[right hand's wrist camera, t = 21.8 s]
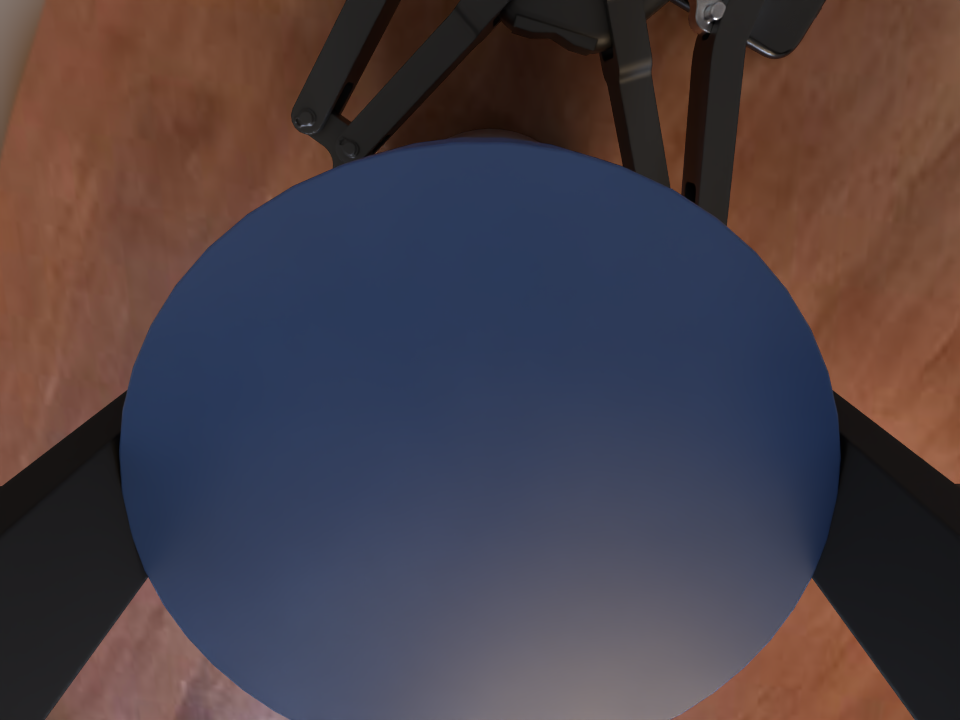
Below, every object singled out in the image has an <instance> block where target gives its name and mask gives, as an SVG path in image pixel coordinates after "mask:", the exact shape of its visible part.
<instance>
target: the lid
mask: <svg viewBox="0 0 960 720" xmlns="http://www.w3.org/2000/svg"><path fill="white" fill-rule="evenodd" d="M119 460H120V475H121V489H122V495H123V499H124V503H125V508H126V512H127V517H128V521H129V525H130V530H131V534H132V538H133V541H134V543H135V546H136V549H137V551H138V554H139V557H140V559H141V562H142V564H143V567H144V570H145V572H146V574H147V575H148V577H149V579H150V581H151V583H152V585H153V586H154V588H155V590H156V592H157V594H158V596H159V597H160V599H161V601H162V603H163V605H164V606H165V607H166V609H167V610H168V612H169V613H170V614H171V616H172V617H173V618H174V620H175V621H176V623H177V624H178V625H179V627H180V628H181V629H182V631H183V632H184V634H185V635H186V636H187V637H188V638H189V640H190V641H191V642H192V643H193V644H194V645H195V646H196V647H197V648H198V649H199V650H200V651H201V652H202V653H203V655H204V656H205V657H206V658H207V659H208V660H209V661H210V662H211V663H212V664H213V665H214V666H215V667H216V668H217V669H219V670H220V671H221V672H222V673H223V674H225V675H226V676H227V677H228V678H229V679H230V680H232V681H233V682H234V683H235V684H236V685H237V686H239V687H240V688H241V689H242V690H244V691H245V692H247V693H248V694H250V695H251V696H252V697H254V698H255V699H257V700H258V701H260V702H261V703H263V704H264V705H266V706H267V707H269V708H270V709H272V710H273V711H275V712H277V713H279V714H280V715H282V716H284V717H286V718H288V719H290V720H671V719H673V718H674V717H676V716H678V715H680V714H682V713H684V712H685V711H687V710H688V709H690V708H691V707H693V706H694V705H696V704H697V703H699V702H700V701H702V700H703V699H705V698H706V697H708V696H710V695H711V694H713V693H714V692H715V691H716V690H718V689H719V688H720V687H721V686H722V685H724V684H725V683H726V682H727V681H729V680H730V679H731V678H732V677H733V676H735V675H736V674H737V673H738V672H739V671H741V670H742V669H743V668H744V667H745V666H746V665H747V664H748V663H749V662H750V661H751V660H752V659H753V658H754V657H755V656H756V655H757V654H758V653H759V652H760V650H761V649H762V648H763V647H764V646H765V645H766V644H767V643H768V642H769V641H770V640H771V639H772V637H773V636H774V635H775V633H776V632H777V631H778V629H779V628H780V627H781V625H782V624H783V623H784V621H785V620H786V619H787V617H788V616H789V615H790V613H791V612H792V611H793V609H794V608H795V606H796V604H797V603H798V601H799V599H800V597H801V595H802V594H803V592H804V590H805V588H806V587H807V585H808V583H809V581H810V580H811V578H812V576H813V574H814V572H815V569H816V566H817V564H818V561H819V559H820V556H821V554H822V551H823V549H824V546H825V544H826V541H827V538H828V534H829V529H830V525H831V521H832V516H833V512H834V508H835V504H836V499H837V494H838V485H839V474H840V462H841V452H840V437H839V422H838V413H837V408H836V404H835V400H834V395H833V391H832V387H831V382H830V378H829V373H828V370H827V368H826V365H825V363H824V360H823V358H822V355H821V353H820V350H819V348H818V345H817V343H816V340H815V338H814V335H813V333H812V331H811V329H810V327H809V325H808V324H807V322H806V320H805V319H804V317H803V315H802V314H801V312H800V310H799V309H798V307H797V305H796V304H795V302H794V300H793V299H792V297H791V295H790V294H789V292H788V290H787V289H786V288H785V287H784V285H783V284H782V283H781V282H780V281H779V279H778V278H777V277H776V276H775V275H774V273H773V272H772V271H771V270H770V269H769V267H768V266H767V265H766V264H765V263H764V261H763V260H762V259H761V258H760V257H759V255H758V254H757V253H756V252H755V251H754V250H753V249H752V248H751V247H749V246H748V245H747V244H746V243H745V242H744V241H743V240H741V239H740V238H739V237H738V236H737V235H736V234H735V233H734V232H732V231H731V230H730V229H729V228H728V227H727V226H726V225H724V224H723V223H722V222H721V221H720V220H719V219H718V218H716V217H715V216H713V215H712V214H710V213H709V212H707V211H705V210H704V209H702V208H701V207H699V206H698V205H696V204H695V203H693V202H691V201H690V200H688V199H687V198H685V197H684V196H682V195H681V194H679V193H678V192H676V191H674V190H673V189H671V188H669V187H667V186H664V185H662V184H660V183H658V182H656V181H653V180H651V179H649V178H647V177H645V176H642V175H640V174H638V173H636V172H634V171H631V170H629V169H627V168H625V167H623V166H620V165H617V164H614V163H611V162H607V161H604V160H601V159H598V158H595V157H592V156H588V155H585V154H582V153H578V152H575V151H571V150H568V149H565V148H561V147H558V146H554V145H551V144H545V143H538V142H531V141H524V140H518V139H511V138H479V137H458V138H451V139H443V140H436V141H428V142H420V143H414V144H410V145H406V146H403V147H399V148H395V149H392V150H388V151H385V152H381V153H377V154H374V155H370V156H367V157H364V158H361V159H358V160H355V161H351V162H348V163H345V164H342V165H340V166H338V167H335V168H333V169H331V170H329V171H326V172H324V173H322V174H319V175H317V176H315V177H313V178H310V179H308V180H306V181H303V182H301V183H299V184H297V185H294V186H292V187H291V188H289V189H287V190H286V191H284V192H283V193H281V194H279V195H278V196H276V197H274V198H273V199H271V200H270V201H268V202H266V203H265V204H263V205H262V206H260V207H258V208H257V209H255V210H254V211H252V212H250V213H249V214H247V215H246V216H245V217H244V218H242V219H241V220H240V221H239V222H238V223H237V224H235V225H234V226H233V227H232V228H231V229H230V230H228V231H227V232H226V233H225V234H224V235H223V236H221V237H220V238H219V239H218V240H217V241H215V242H214V243H213V244H212V245H211V246H210V247H208V248H207V250H206V251H205V252H204V253H203V254H202V255H201V257H200V258H199V259H198V260H197V261H196V262H195V264H194V265H193V266H192V267H191V268H190V269H189V270H188V272H187V273H186V274H185V275H184V276H183V277H182V279H181V280H180V281H179V282H178V283H177V284H176V286H175V287H174V289H173V290H172V292H171V294H170V295H169V297H168V298H167V300H166V302H165V303H164V305H163V306H162V308H161V310H160V311H159V313H158V314H157V316H156V318H155V319H154V321H153V323H152V324H151V326H150V328H149V331H148V333H147V335H146V338H145V340H144V343H143V345H142V347H141V350H140V352H139V354H138V357H137V359H136V361H135V364H134V366H133V370H132V374H131V378H130V382H129V386H128V390H127V394H126V398H125V402H124V406H123V411H122V423H121V434H120V446H119Z"/></svg>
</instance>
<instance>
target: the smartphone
mask: <svg viewBox="0 0 960 720" xmlns="http://www.w3.org/2000/svg"><path fill="white" fill-rule="evenodd" d="M825 1H826V0H765V1H764V3H763V5H762V8H761V10H760V12H759V15H758V17H757V19H756V22H755V24H754V26H753V29H752V31H751V33H750V36H749V38H748V40H747V43H746V46H747V47H748V48H750V49H752V50H754V51H755V52H757V53H759V54H761V55H762V56H764V57H767V58H771V59H779V58H783V57H785V56H787V55H789V54H790V53H791V52H793V51H794V50H795V48H796V47H797V46H798V45H799V43H800V42H801V40H802V39H803V37H804V36H805V34H806V32H807V31H808V29H809V27H810V26H811V24H812V22H813V21H814V19H815V18H816V17H817V15H818V14H819V12H820V10H821V9H822V6H823V4H824V3H825ZM670 2H672V3H674V4H675V5H677V6H679V7H680V8H682V9H684V10H685V11H687V12H689V11H690V6H689V1H688V0H670Z"/></svg>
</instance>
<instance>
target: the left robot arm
mask: <svg viewBox="0 0 960 720" xmlns="http://www.w3.org/2000/svg"><path fill="white" fill-rule="evenodd" d="M400 1H401V0H346V2H345V4H344V6H343V8H342V10H341V12H340V14H339V16H338V18H337V20H336V22H335V24H334V26H333V28H332V30H331V32H330V34H329V36H328V38H327V40H326V42H325V45H324V47H323V49H322V51H321V53H320V55H319V57H318V59H317V61H316V63H315V65H314V67H313V69H312V71H311V73H310V75H309V77H308V79H307V81H306V83H305V85H304V87H303V89H302V91H301V93H300V95H299V97H298V99H297V101H296V103H295V105H294V107H293V110H292V113H291V118H292V122H293V124H294V126H295V128H296V129H297V130H298V131H299V132H301V133H304V134H308V135H309V136H310V137H312V138H313V139H315V140H316V141H317V142H319V143H320V144H322V145H323V146H324V147H325V148H326V149H327V150H328V151H329V152H330V154H331V156H332V159H333V168H335V167H338V166H340V165H342V164H345V163H348V162H351V161H355V160H358V159H361V158H364V157H367V156H370V155H374V154H375V153H376V152H377V151H378V150H379V148H380V147H381V146H382V145H383V144H384V143H385V142H386V141H387V140H388V139H389V138H390V137H391V136H392V135H393V134H394V133H395V132H396V130H397V129H398V128H399V127H400V126H401V125H402V124H403V123H404V122H405V121H406V120H407V119H408V118H409V117H410V116H411V115H412V113H413V112H414V111H415V110H416V109H417V108H418V107H419V106H420V105H421V104H422V103H423V102H424V101H425V100H426V99H427V98H428V97H429V95H430V94H431V93H432V92H433V91H434V90H435V89H436V88H437V87H438V86H439V85H440V84H441V83H442V82H443V81H444V80H445V78H446V77H447V76H448V75H449V74H450V73H451V72H452V71H453V70H454V69H455V68H456V67H457V66H458V65H459V64H460V63H461V61H462V60H463V59H464V58H465V57H466V56H467V55H468V54H469V53H470V52H471V51H472V50H473V49H474V48H475V47H476V46H477V45H478V44H479V43H480V42H481V41H482V40H483V39H484V38H485V37H486V36H487V35H488V34H489V33H490V32H491V31H492V30H493V29H494V28H495V27H496V26H497V25H498V24H499V23H500V22H501V21H502V22H503V23H504V24H505V25H506V26H507V27H508V28H509V29H511V30H512V33H514V34H517V35H520V36H523V37H527V38H531V39H552V40H553V41H555V42H556V43H558V44H559V45H561V46H562V47H564V48H565V49H567V50H569V51H572V52H575V53H579V54H582V55H585V56H587V55H588V54H595V53H599V55H600V60H601V65H602V70H603V75H604V78H605V81H606V83H607V86H608V90H609V95H610V101H611V106H612V111H613V116H614V121H615V127H616V132H617V137H618V142H619V148H620V153H621V158H622V163H623V167H625V168H627V169H629V170H631V171H634V172H636V173H638V174H640V175H642V176H645V177H647V178H649V179H651V180H653V181H656V182H658V183H660V184H662V185H664V186H667V187H669V188H670V183H669V177H668V171H667V165H666V159H665V153H664V147H663V141H662V135H661V129H660V123H659V117H658V111H657V105H656V99H655V93H654V87H653V81H652V75H651V69H652V54H651V48H650V42H649V36H648V30H647V24H646V20H647V19H648V18H649V17H651V16H652V15H653V14H654V13H655V12H656V11H658V10H659V9H660V8H661V7H662V6H664V5H665V4H666V3H667V2H668V1H670V0H460V2H459V3H458V4H457V6H456V7H455V9H454V10H453V12H452V13H451V14H450V15H449V16H448V17H447V18H446V19H445V21H444V22H443V23H442V24H441V25H440V26H439V27H438V28H437V29H436V30H435V31H434V33H433V34H432V35H431V36H430V37H429V38H428V39H427V40H426V41H425V42H424V43H423V45H422V46H421V47H420V48H419V49H418V50H417V51H416V52H415V53H414V54H413V56H412V57H411V58H410V59H409V60H408V61H407V62H406V63H405V64H404V65H403V66H402V68H401V69H400V70H399V71H398V72H397V73H396V74H395V75H394V76H393V77H392V79H391V80H390V81H389V82H388V83H387V84H386V85H385V86H384V87H383V88H382V89H381V91H380V92H379V93H378V94H377V95H376V96H375V97H374V98H373V99H372V100H371V102H370V103H369V104H368V105H367V106H366V107H365V108H364V109H363V110H362V111H361V112H360V114H359V115H358V116H357V117H356V118H355V119H354V120H353V121H352V122H350V121H349V120H348V119H346V118H345V117H343V116H342V115H341V113H342V112H343V110H344V108H345V106H346V104H347V102H348V100H349V98H350V96H351V94H352V92H353V91H354V89H355V87H356V85H357V83H358V81H359V79H360V77H361V75H362V73H363V71H364V69H365V68H366V66H367V64H368V62H369V60H370V58H371V56H372V54H373V52H374V50H375V48H376V47H377V45H378V43H379V41H380V39H381V37H382V35H383V33H384V31H385V29H386V27H387V26H388V24H389V22H390V20H391V18H392V16H393V14H394V12H395V10H396V8H397V6H398V5H399V3H400ZM688 1H689V6H690V11H689V18H688V20H689V25H690V28H691V29H692V30H693V31H694V32H695V33H697V34H698V36H697V39H696V43H695V47H694V51H693V58H692V67H691V79H690V92H689V105H688V117H687V130H686V143H685V155H684V168H683V180H682V193H681V195H682V196H684V197H685V198H687V199H688V200H690V201H691V202H693V203H695V204H696V205H698V206H699V207H701V208H702V209H704V210H705V211H707V212H709V213H710V214H712V215H713V216H715V217H716V218H718V219H719V220H720V221H721V222H722V223H723V224H724V225H726V226H727V218H728V208H729V199H730V190H731V180H732V171H733V161H734V152H735V143H736V133H737V124H738V114H739V105H740V95H741V86H742V77H743V67H744V58H745V48H746V43H747V40H748V38H749V36H750V33H751V31H752V29H753V26H754V24H755V22H756V19H757V17H758V15H759V12H760V10H761V8H762V5H763V3H764V1H765V0H688Z"/></svg>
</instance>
